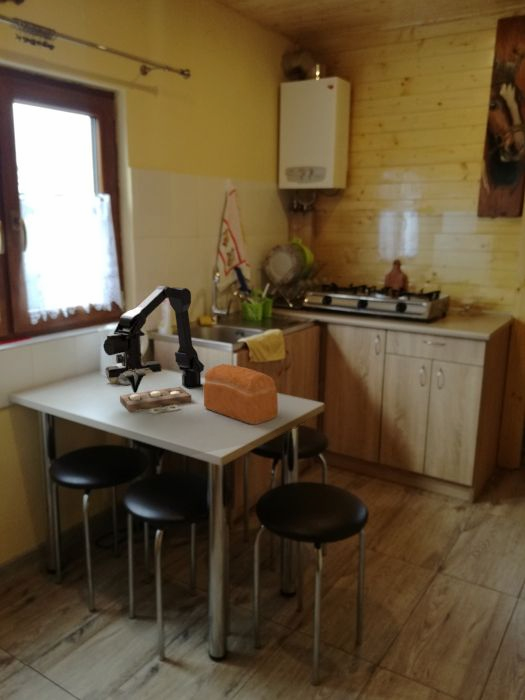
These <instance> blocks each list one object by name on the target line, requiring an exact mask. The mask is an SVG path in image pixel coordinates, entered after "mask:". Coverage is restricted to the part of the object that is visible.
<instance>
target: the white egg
mask: <svg viewBox="0 0 525 700" xmlns="http://www.w3.org/2000/svg"><path fill="white" fill-rule="evenodd" d="M170 394H171V395H174V394H180V392H179V391H172V392H170Z"/></svg>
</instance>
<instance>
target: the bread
mask: <svg viewBox="0 0 525 700" xmlns="http://www.w3.org/2000/svg"><path fill="white" fill-rule="evenodd" d="M202 388H203V389H202V391H203V393H202V394H203V406H204V407H205V409H206V410H209V411H213V412H216V413H217V414H218V413H219V414H220V415H223V416H225V417H226V416H227V417H229V418H231V419H235V420H238V421H241V422H244V423H247V424H251V425H258V424H261V423H265V422H266V421H269V420H272V419H274V418H276V417H278V413H279V411H278V410H279V407H278V406H279V405H278V404H279V403H278V391H277V387H276V381H275V380H274V379H273V378H272V377H271V376H269V375H267V374H265V373H263V372H260V371H257V370H254V369H251V368H247V367H244V366H238V365H233V364H225V363H223V364H219V365H217V366H214V367H211V368H209V369H208V370H207V371H206V372H205V375H204V383H203V384H202Z"/></svg>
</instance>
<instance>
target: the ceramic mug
mask: <svg viewBox="0 0 525 700" xmlns="http://www.w3.org/2000/svg"><path fill="white" fill-rule="evenodd" d="M112 366H117V367H119V368H124V367H125V366H122V363H119V364H117V363H116V364H113V365H112ZM128 370H131V369H128ZM106 378H107V380H108V381H109V383H111V384H122V385H125V386H131V385H130V382H129V380H128V379H127V378H125V377H124V376H123V375H122V373H121V375H120V376H119V377H115V378H109V377H108V376H107V375H106Z"/></svg>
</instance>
